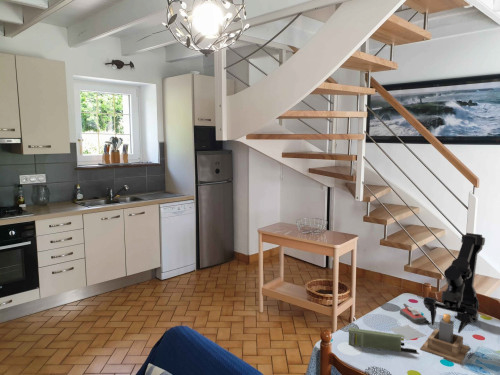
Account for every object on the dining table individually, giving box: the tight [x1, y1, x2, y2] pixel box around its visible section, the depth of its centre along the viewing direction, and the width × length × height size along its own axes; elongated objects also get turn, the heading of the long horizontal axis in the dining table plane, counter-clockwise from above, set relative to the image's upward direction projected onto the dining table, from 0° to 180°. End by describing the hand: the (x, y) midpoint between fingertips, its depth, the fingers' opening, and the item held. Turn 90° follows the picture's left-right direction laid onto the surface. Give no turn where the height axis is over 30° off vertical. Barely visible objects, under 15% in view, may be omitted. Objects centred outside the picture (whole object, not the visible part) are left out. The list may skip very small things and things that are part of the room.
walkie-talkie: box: [399, 303, 430, 325], centre depth 177 cm, size 9×4×20 cm
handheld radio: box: [348, 327, 418, 354], centre depth 148 cm, size 7×3×25 cm
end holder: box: [419, 328, 470, 365], centre depth 147 cm, size 14×14×5 cm
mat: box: [389, 324, 427, 341], centre depth 160 cm, size 10×10×1 cm
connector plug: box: [438, 313, 455, 344], centre depth 147 cm, size 4×4×13 cm
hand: (445, 328), depth 146 cm, fingers open, 9 cm apart
